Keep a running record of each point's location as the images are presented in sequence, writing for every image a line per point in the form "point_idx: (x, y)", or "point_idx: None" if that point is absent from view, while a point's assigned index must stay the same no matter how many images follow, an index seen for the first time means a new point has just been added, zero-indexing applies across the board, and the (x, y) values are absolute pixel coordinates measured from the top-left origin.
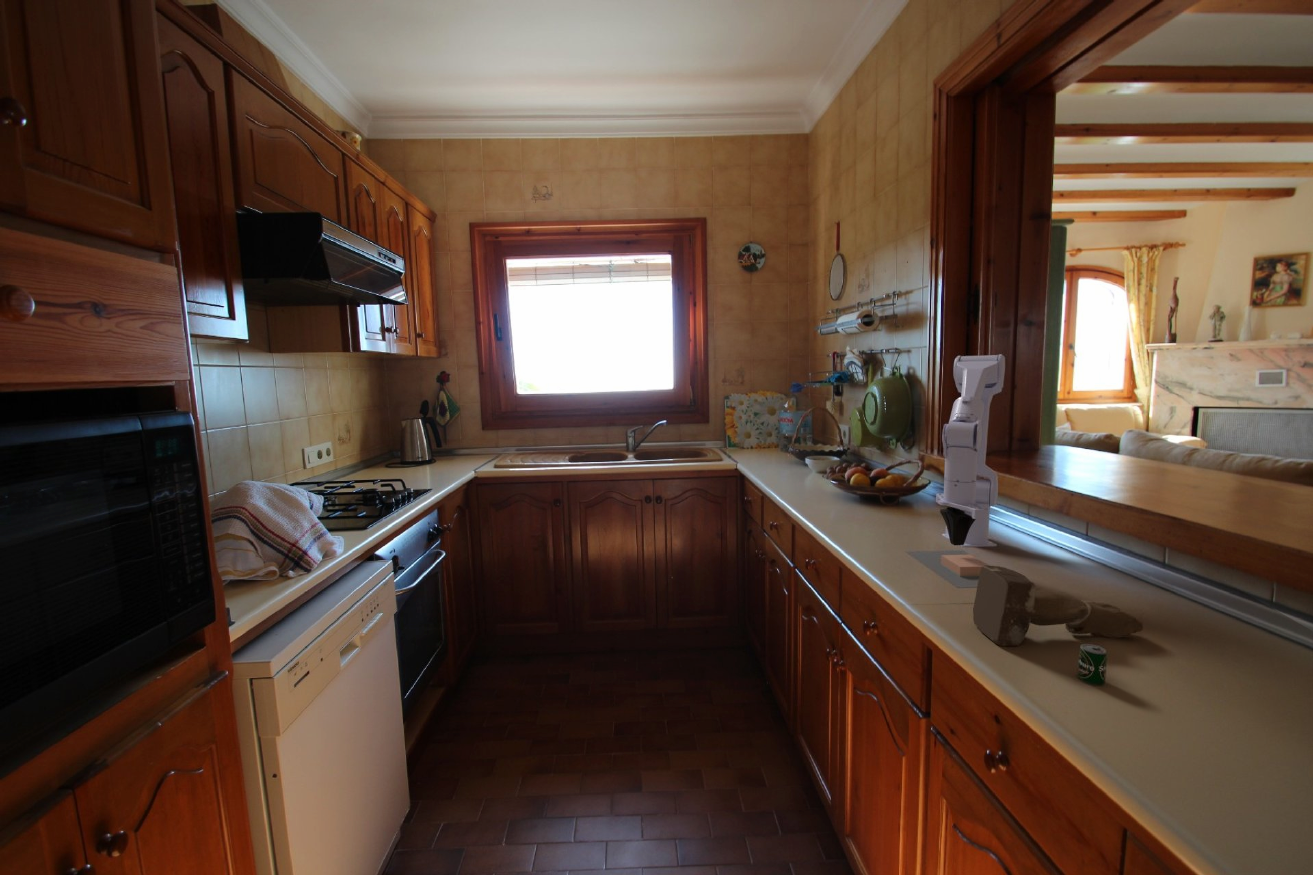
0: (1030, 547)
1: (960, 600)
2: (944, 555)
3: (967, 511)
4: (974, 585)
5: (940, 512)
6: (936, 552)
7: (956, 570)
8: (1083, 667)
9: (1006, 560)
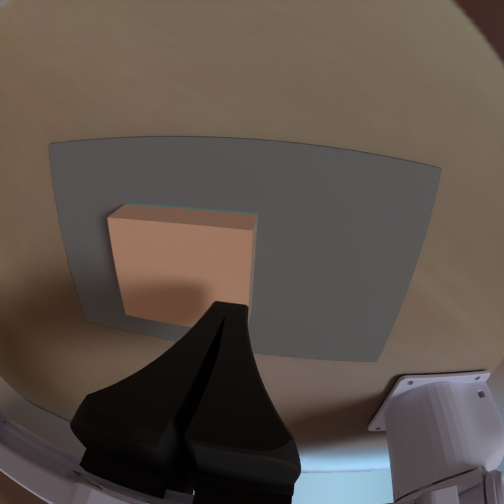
0: (339, 456)
1: (4, 119)
2: (246, 241)
3: (57, 465)
4: (65, 203)
5: (284, 438)
6: (392, 281)
7: (138, 209)
8: None
9: (276, 401)
